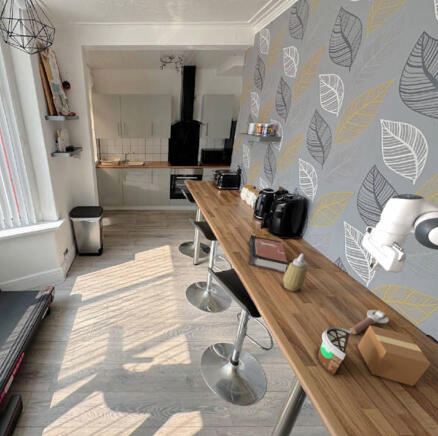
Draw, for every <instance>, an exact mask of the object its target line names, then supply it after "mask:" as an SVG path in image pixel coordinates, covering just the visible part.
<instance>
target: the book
mask: <svg viewBox="0 0 438 436" xmlns="http://www.w3.org/2000/svg"><path fill="white" fill-rule="evenodd" d="M248 244H249V245H250V246H249V247H250V259H249V265H250V266H253V267H257V268H263V269H268V270H272V271H276V272H280V273H284V274H285V273H286V271H287V268H288V267H289V264H288V260H287V257H286V255H287V254H286V252H287V251H286V250H285V249H284V246H283V243H282V241H281V240H276V239H272V238H266V237H259V236H257V235H253V234H252V235H251V234H250V238H249V242H248Z"/></svg>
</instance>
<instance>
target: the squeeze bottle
mask: <svg viewBox="0 0 438 436" xmlns="http://www.w3.org/2000/svg"><path fill="white" fill-rule="evenodd" d="M306 265H307V261H306V260H305V254H304V253H302V252H301V253H300V254H299V256H298V257H296V258H294V259H293V261H292V262H289V264H288V266H287V268H286V273H285V272H284V275H283V277H282V280H283V287H284V288H285V289H286V290H288V291H290V292H291V291H292V292H298V291H299V290H300V289H301V288H303V286H304V283H305V279H306V274H307V270H308V269H307V266H306Z"/></svg>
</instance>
